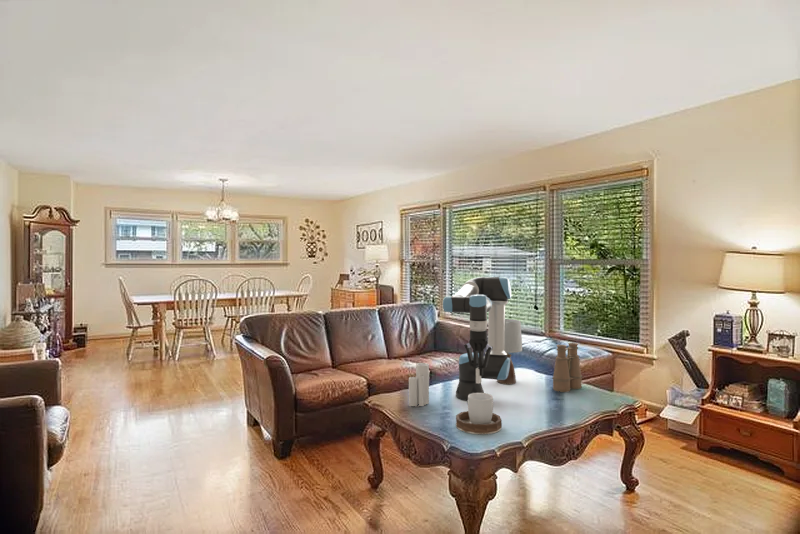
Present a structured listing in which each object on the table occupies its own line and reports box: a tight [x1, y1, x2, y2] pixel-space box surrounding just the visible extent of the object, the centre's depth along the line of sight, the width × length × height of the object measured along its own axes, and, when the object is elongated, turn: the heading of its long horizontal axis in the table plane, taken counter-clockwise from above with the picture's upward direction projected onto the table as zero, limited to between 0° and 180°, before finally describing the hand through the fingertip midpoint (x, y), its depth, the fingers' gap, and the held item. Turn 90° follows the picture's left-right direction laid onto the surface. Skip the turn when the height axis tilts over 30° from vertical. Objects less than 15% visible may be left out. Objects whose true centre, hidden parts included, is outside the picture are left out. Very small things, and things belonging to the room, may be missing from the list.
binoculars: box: [551, 342, 583, 393], centre depth 269 cm, size 21×10×25 cm, turn 125°
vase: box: [408, 362, 430, 407], centre depth 240 cm, size 11×7×20 cm, turn 135°
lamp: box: [496, 318, 523, 385], centre depth 282 cm, size 19×19×37 cm
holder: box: [455, 410, 503, 435], centre depth 209 cm, size 20×20×4 cm
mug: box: [467, 392, 494, 424], centre depth 209 cm, size 15×11×13 cm
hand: (478, 382), depth 209 cm, fingers closed
